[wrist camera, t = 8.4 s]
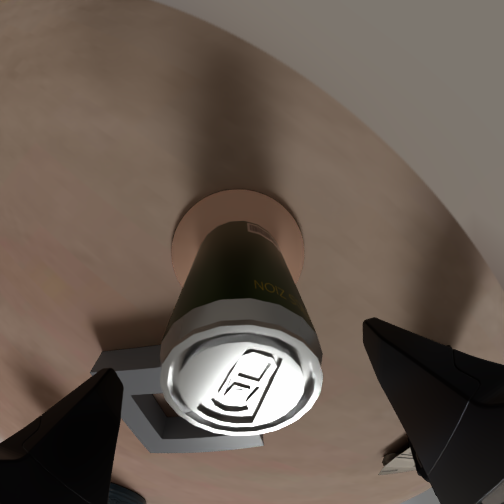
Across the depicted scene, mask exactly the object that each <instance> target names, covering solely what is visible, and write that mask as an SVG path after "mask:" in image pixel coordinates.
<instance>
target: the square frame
mask: <svg viewBox="0 0 504 504" xmlns="http://www.w3.org/2000/svg"><path fill="white" fill-rule="evenodd" d="M160 351H161V345H155V346H148V347H140V348H132V349H123V350H114V351H104V352H102V353H101V355H100V356H99V358H98V360H97V361H96V363H95V365H94V366H93V368H92V370H91V372H90V373H91V375H92V376H93V375H94V374H96V373H97V372H98V371H100V370H101V369H102V368H113V369H114V370H115V372H116V373H117V375H118V377H119V378H120V380H121V382H122V383H123V387H124V391H123V400H122V410H121V418H122V419H123V421H124V422H125V423H126V424H127V426H128V427H129V428H130V429H131V431H132V432H133V433H134V434H135V436H136V437H137V438H138V439H139V440H140V442H141V443H142V444H143V445H144V446H145V447H146V448H147V450H148V451H149V452H150V453H194V452H212V451H224V450H234V449H242V448H250V447H257V446H264V442H263V433H262V434H258V435H243V436H233V435H226V434H220V433H214V432H211V431H208V430H205V429H203V428H200V427H197V426H195V425H193V424H191V423H190V422H188V421H187V420H185V419H184V418H182V417H166V415H165V414H164V412H163V411H162V409H161V408H160V406H159V404H158V403H157V401H156V400H155V398H154V397H153V395H152V394H157V393H163V391H162V388H161V385H160V376H161V366H160V362H159V359H160Z"/></svg>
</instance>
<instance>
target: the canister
mask: <svg viewBox="0 0 504 504" xmlns="http://www.w3.org/2000/svg"><path fill="white" fill-rule="evenodd" d="M108 504H146V501H145V500H144V499H143V498H142V497H141V496H139V495H138V494H136V493H134V492H132V491H130V490H128V489H126V488H124V487H121V486H119V485H116V484H113V483H110V489H109V497H108Z"/></svg>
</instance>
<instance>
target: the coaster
mask: <svg viewBox="0 0 504 504" xmlns="http://www.w3.org/2000/svg"><path fill="white" fill-rule="evenodd" d="M230 221H247V222H251V223H254V224H258V225H259V226H261V227H262V228H264V229H265V230H267V231H268V232H269V233H270V234H271V236H272V237H273V238H274V239H275V241H276V242H277V244H278V246H279V249H280V251H281V253H282V255H283V258H284V260H285V262H286V264H287V267H288V269H289V271H290V273H291V276H292V278H293V280H294V283H295V284H296V283H297V281H298V279H299V277H300V274H301V271H302V268H303V263H304V242H303V238H302V234H301V232H300V229H299V227H298V225H297V223H296V221H295V220H294V218H293V217H292V216H291V214H290V213H289V212H288V211H287V210H286V209H285V208H284V207H283V206H282V205H281V204H280V203H278V202H277V201H276V200H274V199H272V198H271V197H269V196H267V195H264V194H262V193H259V192H256V191H251V190H244V189H230V190H225V191H220V192H217V193H214V194H211V195H209V196H207V197H205V198H204V199H202V200H200V201H199V202H197V203H196V204H195V205H194V206H193V207H192V208H191V209H190V210H189V211H188V212H187V213H186V214H185V215H184V217H183V218H182V220H181V221H180V223H179V225H178V227H177V229H176V231H175V234H174V238H173V242H172V264H173V268H174V272H175V274H176V277H177V279H178V281H179V283H180V284H181V286H182V288H183V286H184V284H185V281H186V279H187V276H188V274H189V271H190V269H191V267H192V264H193V262H194V260H195V257H196V255H197V252H198V250H199V248H200V245H201V244H202V242H203V241H204V239H205V237H206V236H207V234H209V233H210V232H211V231H212V230H214V229H215V228H216V227H217V226H220V225H222V224H225V223H227V222H230Z"/></svg>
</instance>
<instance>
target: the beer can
mask: <svg viewBox="0 0 504 504" xmlns="http://www.w3.org/2000/svg"><path fill="white" fill-rule="evenodd" d="M322 355H323V353H322V350H321V347H320V343H319V340H318V337H317V334H316V331H315V329H314V327H313V324H312V322H311V320H310V317H309V315H308V313H307V310H306V308H305V306H304V303H303V301H302V299H301V296H300V294H299V292H298V289H297V287H296V285H295V283H294V280H293V278H292V276H291V273H290V271H289V269H288V267H287V264H286V262H285V260H284V258H283V255H282V253H281V251H280V249H279V246H278V244H277V242H276V241H275V239H274V238H273V237H272V236H271V234H270V233H269V232H268V231H267V230H265V229H264V228H262V227H261V226H259V225H258V224H254V223H251V222H247V221H230V222H227V223H225V224H222V225H220V226H217V227H216V228H215V229H214V230H212V231H211V232H210V233H209V234H207V236H206V237H205V239H204V241H203V242H202V244H201V245H200V248H199V250H198V252H197V255H196V257H195V260H194V262H193V264H192V267H191V269H190V271H189V274H188V276H187V279H186V281H185V284H184V286H183V289H182V291H181V294H180V296H179V299H178V301H177V304H176V306H175V309H174V311H173V314H172V316H171V319H170V321H169V324H168V327H167V329H166V332H165V335H164V337H163V340H162V344H161V351H160V359H159V362H160V366H161V376H160V385H161V388H162V391H163V394H164V397H165V400H166V401H167V402H168V403H169V405H170V406H171V407H172V408H173V409H174V411H175V412H176V413H177V414H178V415H180V416H181V417H182V418H184V419H185V420H187V421H188V422H190V423H191V424H193V425H195V426H197V427H200V428H203V429H205V430H208V431H211V432H214V433H220V434H226V435H233V436H243V435H258V434H262V433H267V432H271V431H275V430H278V429H280V428H282V427H284V426H286V425H288V424H290V423H292V422H294V421H296V420H298V419H299V418H300V417H301V416H302V415H303V414H305V413H306V412H307V411H308V410H309V409H310V408H311V407H312V406H313V404H314V402H315V401H316V399H317V398H318V396H319V394H320V392H321V386H322V380H323V373H322V370H321V362H322Z"/></svg>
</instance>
